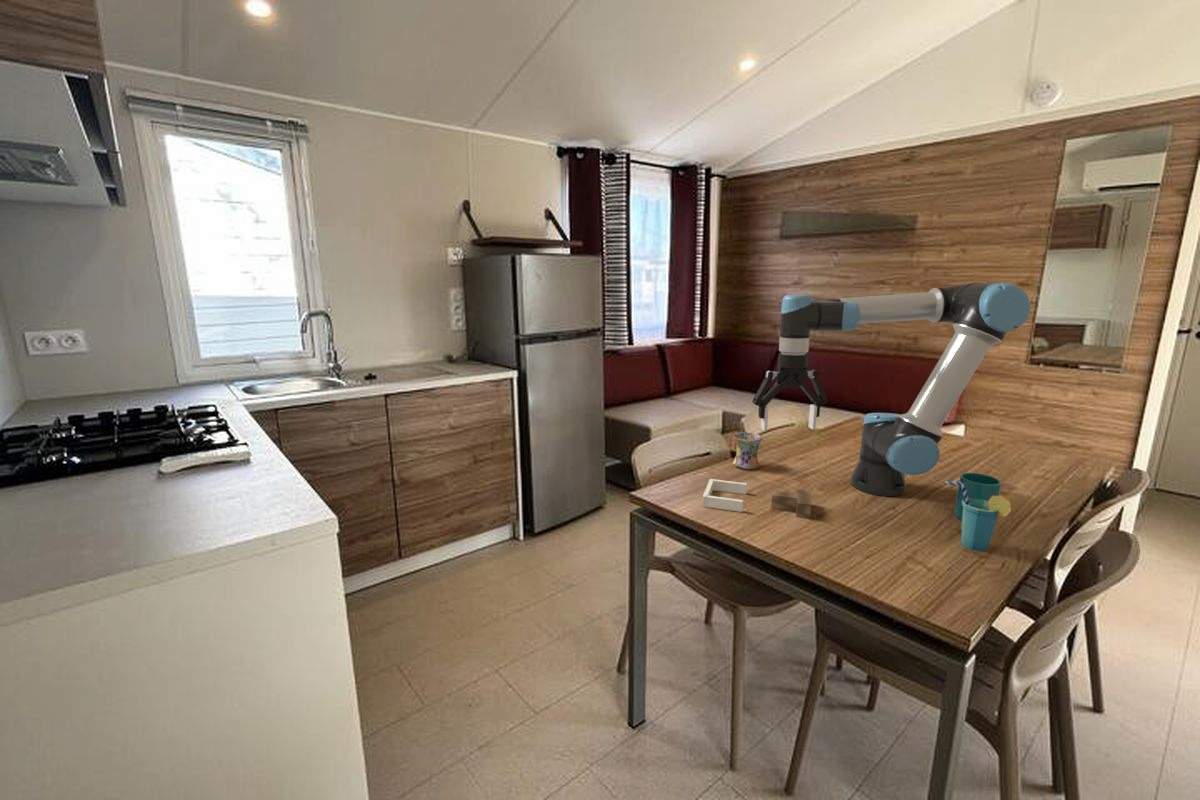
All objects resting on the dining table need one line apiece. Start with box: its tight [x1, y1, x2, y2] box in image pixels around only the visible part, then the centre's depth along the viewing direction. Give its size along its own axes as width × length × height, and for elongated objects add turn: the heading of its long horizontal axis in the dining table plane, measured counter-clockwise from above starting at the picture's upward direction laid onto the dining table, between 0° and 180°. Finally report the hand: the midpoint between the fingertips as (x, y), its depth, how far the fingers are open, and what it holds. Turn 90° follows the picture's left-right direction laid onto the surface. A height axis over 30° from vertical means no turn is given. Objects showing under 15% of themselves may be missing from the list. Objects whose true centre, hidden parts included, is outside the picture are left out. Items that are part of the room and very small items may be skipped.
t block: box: [770, 489, 812, 520], centre depth 150 cm, size 10×10×4 cm
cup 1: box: [953, 472, 1002, 520], centre depth 145 cm, size 9×12×11 cm
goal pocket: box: [701, 478, 748, 513], centre depth 156 cm, size 11×14×3 cm
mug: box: [732, 431, 763, 470], centre depth 184 cm, size 12×9×11 cm
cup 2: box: [944, 480, 1014, 552], centre depth 129 cm, size 14×8×15 cm, turn 47°
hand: (787, 429), depth 151 cm, fingers open, 13 cm apart
